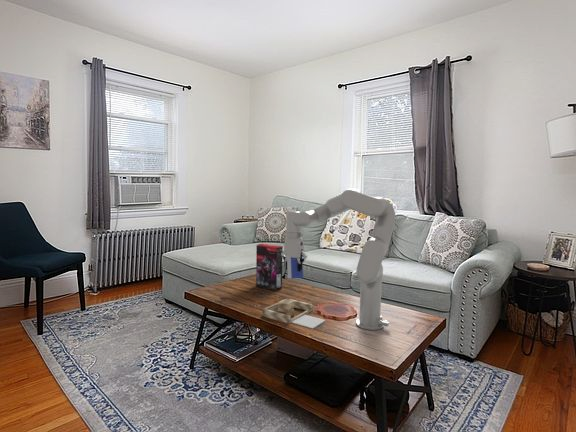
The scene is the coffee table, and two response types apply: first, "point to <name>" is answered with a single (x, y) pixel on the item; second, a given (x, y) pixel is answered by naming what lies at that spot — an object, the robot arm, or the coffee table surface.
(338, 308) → the coffee table surface
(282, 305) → the offcut upper
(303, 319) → the mat
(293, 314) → the offcut lower
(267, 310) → the rack
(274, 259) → the graphics card box
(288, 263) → the walkman
